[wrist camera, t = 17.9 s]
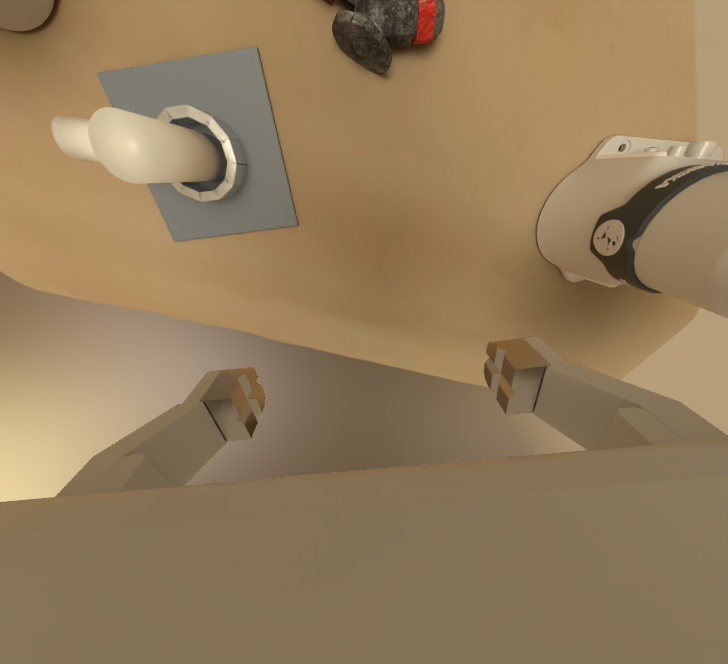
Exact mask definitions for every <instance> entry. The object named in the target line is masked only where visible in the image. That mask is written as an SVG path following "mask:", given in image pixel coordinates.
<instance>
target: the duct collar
mask: <svg viewBox="0 0 728 664" xmlns="http://www.w3.org/2000/svg"><path fill="white" fill-rule="evenodd" d="M157 120H160V121H164V122H167V123H171V124H175V125H178V126H182V127H185V128H187V127H188V126H189V125H192V124H198V123H203V124H205V125H207V126H208V127H209V129H210V130H211V131H212V132H213V133H214V134H215V136H216V137H217V138H218V139H219V140H220V142H221V144H222V147H223V150H224V153H225V156H226V159H227V169H226V175H225V180H224V181H223V182H222V183H221V184H220V185H219V186H218V187H217V188H216V189H215V190H213V191H212V190H210V189H208V188H205V187H203V186H201V185H198V184H197V183H196V182H171V184H172V185H173V186H174V187H175V188H176V189H177V190H178V192H179V193H181V194H183V195H186V196H188V197H191V198H193V199H195V200H198V201H200V202H204V201H211V200H218V199H224V198H230V197H233V196H234V195H235V194H236V193H237V192H238V191H239V190H240V188H241V187H242V186H243V184H244V182H245V177H246V171H247V166H248V165H246V164H247V161H246V157H245V154H244V150H243V147H242V143H241V142H240V140H239V139H238V137H237V136H236V135H235V134H234V132H233V131H232V130H231V129H230V127H229V126H228V125H227V124H226V122H224V121H222V120H220V119H218V118H216V117H214V116H212V115H210V114H208V113H206V112H204V111H201V110H199V109H197V108H194V107H192V106H189V105H180V106H174V107H167V108H166V109H165V108H164V110H163V111H162V112H161V114H160V115H159V116H158V118H157Z"/></svg>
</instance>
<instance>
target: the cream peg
mask: <svg viewBox="0 0 728 664" xmlns="http://www.w3.org/2000/svg"><path fill="white" fill-rule="evenodd" d="M52 132H53V136H54V138H55V140H56V142H57V144H58V146H59V147H60V148H61V149H62V151H63V152H64V153H65V154H67V155H68V156H69V157H71V158H73V159H75V160H80V161H87V162H93V163H100V164H103V165H104V166H105V167H106V169H107V170H109V171H110V172H111V173H112V174H113V175H115V176H116V177H118V178H120V179H122V180H124V181H126V182H130V183H136V184H138V183H171V182H203V181H220V180H222V179H224V178H225V175H226V169H227V159H226V156H225V153H224V150H223V147H222V144H221V142H220V140H219V139H217V138H216V137H214V136H213V135H210V134H207V133H203V132H200V131H196V130H192V129H189V128H185V127H182V126H178V125H175V124H171V123H167V122H164V121H160V120H157V119H153V118H150V117H146V116H142V115H139V114H135V113H132V112H128V111H125V110H121V109H117V108H112V107H105V108H101V109H99V110H97V111H96V112H95V113H94V114H93V115H92V117H91V119H85V118H79V117H73V116H68V115H57V116H56V117H55V118H54V119H53V121H52Z"/></svg>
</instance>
